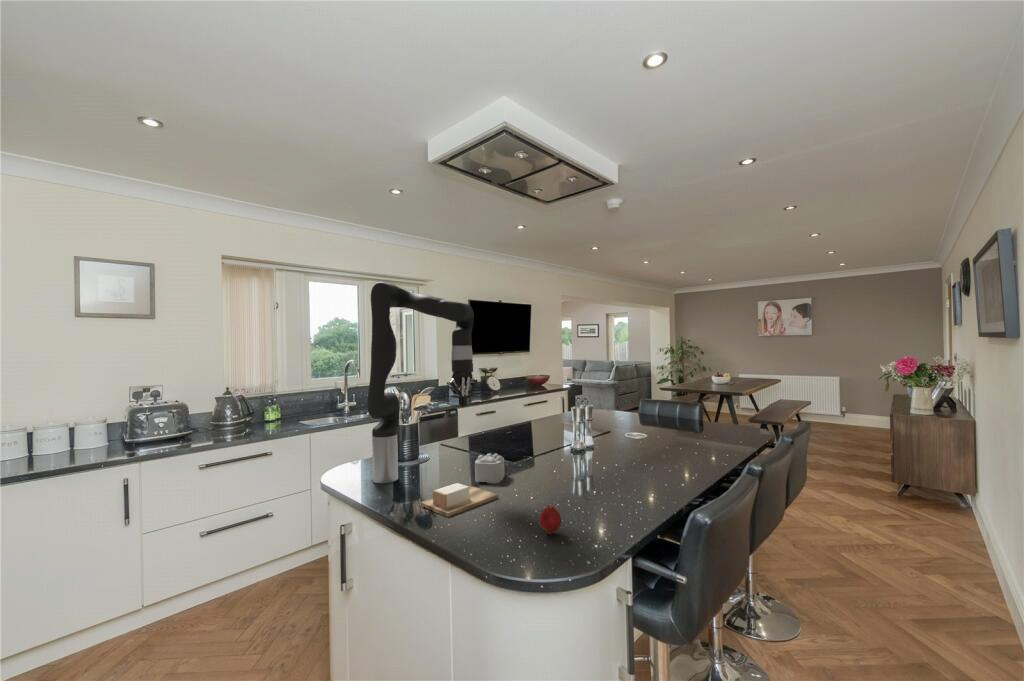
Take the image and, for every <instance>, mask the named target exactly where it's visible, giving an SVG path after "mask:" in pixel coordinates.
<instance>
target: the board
mask: <svg viewBox="0 0 1024 681" xmlns="http://www.w3.org/2000/svg"><path fill="white" fill-rule="evenodd" d="M468 486H469V499H468V500H466V501H463V502H460V503H457V504H455V505H452V506H449V507H446V508H443V507H441V506H438V505H436V504H433V497H431V498H428V499H426V500H423V501H420V502H419V503H420V504H419V506H420V507H422V508H424V507H425V508H424V509H426V508H427V509H426V510H429V511H431V510H432V511H431V512H434V513H436V514H438V513H439V514H438V515H441V516H443V517H446V518H449V517H452V515H453V516H455V515H458V514H460V513H463V512H465V511H469V510H470V509H474V508H476V507H478V505H479V506H481V505H484V504H485V503H486V504H487V503H490V502H491V500H492V501H494V500H497V499H498V498H499V494H497V493H494V492H491V491H488V490H485V489H482V488H479V487H476V486H471V485H468ZM483 503H484V504H483Z"/></svg>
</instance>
